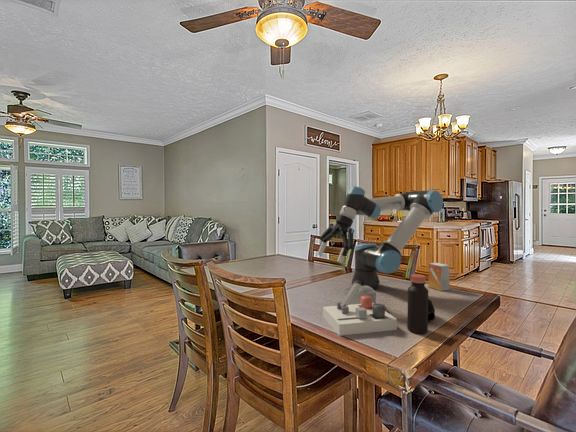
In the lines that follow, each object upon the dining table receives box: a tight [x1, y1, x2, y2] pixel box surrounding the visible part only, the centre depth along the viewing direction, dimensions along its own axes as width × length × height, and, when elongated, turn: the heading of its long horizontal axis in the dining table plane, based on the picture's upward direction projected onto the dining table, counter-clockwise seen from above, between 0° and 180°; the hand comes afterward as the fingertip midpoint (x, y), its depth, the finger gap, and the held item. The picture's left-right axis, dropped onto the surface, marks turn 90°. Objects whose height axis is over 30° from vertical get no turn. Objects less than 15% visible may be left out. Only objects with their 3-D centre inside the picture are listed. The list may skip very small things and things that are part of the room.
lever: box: [340, 280, 361, 308], centre depth 119 cm, size 2×3×13 cm
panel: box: [322, 301, 398, 336], centre depth 117 cm, size 22×18×6 cm
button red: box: [361, 296, 372, 309], centre depth 123 cm, size 4×4×6 cm
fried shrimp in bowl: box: [428, 298, 436, 322], centre depth 124 cm, size 9×11×18 cm
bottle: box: [406, 273, 429, 335], centre depth 109 cm, size 7×7×20 cm
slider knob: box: [356, 307, 367, 319], centre depth 111 cm, size 3×3×3 cm
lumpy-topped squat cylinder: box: [344, 285, 377, 305], centre depth 136 cm, size 10×13×9 cm
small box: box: [427, 262, 451, 292], centre depth 161 cm, size 8×6×13 cm
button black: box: [373, 303, 386, 319], centre depth 113 cm, size 4×4×6 cm
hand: (328, 258), depth 142 cm, fingers open, 13 cm apart
